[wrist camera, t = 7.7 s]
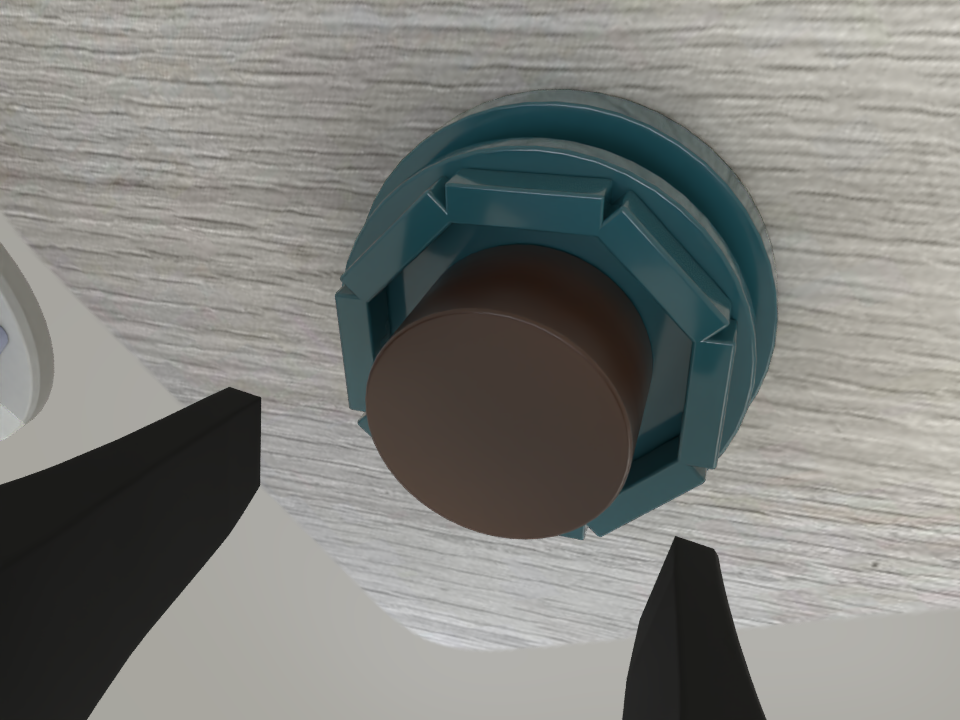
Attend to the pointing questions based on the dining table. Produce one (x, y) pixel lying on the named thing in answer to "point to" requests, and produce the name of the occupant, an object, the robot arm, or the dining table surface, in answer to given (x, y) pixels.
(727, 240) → the stand
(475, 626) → the dining table surface
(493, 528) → the cylinder
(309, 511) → the dining table surface
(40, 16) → the dining table surface
